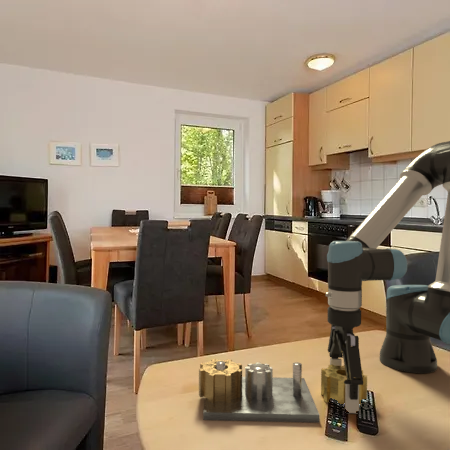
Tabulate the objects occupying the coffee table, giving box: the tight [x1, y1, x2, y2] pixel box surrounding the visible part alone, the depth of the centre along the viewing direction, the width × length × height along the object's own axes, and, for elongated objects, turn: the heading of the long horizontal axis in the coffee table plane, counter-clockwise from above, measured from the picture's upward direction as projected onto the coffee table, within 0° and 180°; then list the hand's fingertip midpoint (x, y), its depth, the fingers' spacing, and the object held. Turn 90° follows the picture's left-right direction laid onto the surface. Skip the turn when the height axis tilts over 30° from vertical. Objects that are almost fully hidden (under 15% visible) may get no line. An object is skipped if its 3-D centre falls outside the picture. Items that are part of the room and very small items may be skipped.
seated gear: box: [198, 358, 243, 403], centre depth 87 cm, size 10×10×6 cm
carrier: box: [202, 361, 321, 424], centre depth 86 cm, size 24×18×9 cm
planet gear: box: [320, 364, 368, 405], centre depth 88 cm, size 10×10×6 cm
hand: (343, 397), depth 88 cm, fingers open, 13 cm apart
